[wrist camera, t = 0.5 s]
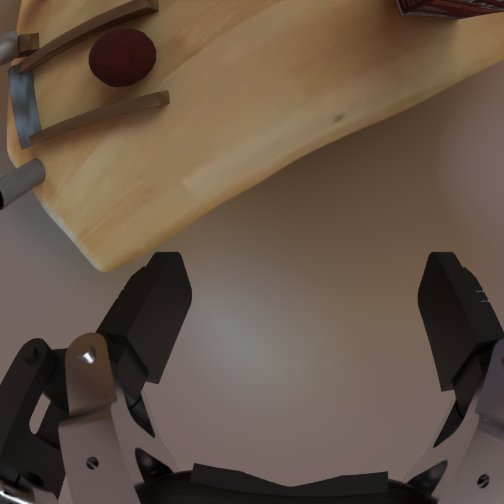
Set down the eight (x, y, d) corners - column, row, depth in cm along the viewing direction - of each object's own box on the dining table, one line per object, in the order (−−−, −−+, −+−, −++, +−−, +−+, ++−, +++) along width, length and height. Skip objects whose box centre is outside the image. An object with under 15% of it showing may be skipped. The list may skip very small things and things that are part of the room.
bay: (23, 41, 24) (-15, 47, 17) (155, -30, 19) (119, -48, 12) (38, 141, 34) (1, 160, 28) (169, 102, 30) (134, 113, 23)
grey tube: (45, 162, 36) (2, 188, 28) (45, 185, 39) (5, 214, 31) (30, 156, 36) (-13, 180, 28) (30, 178, 39) (-9, 205, 30)
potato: (114, 30, 24) (79, 27, 19) (171, 32, 25) (141, 26, 19) (103, 81, 29) (68, 88, 23) (157, 88, 29) (126, 94, 23)
